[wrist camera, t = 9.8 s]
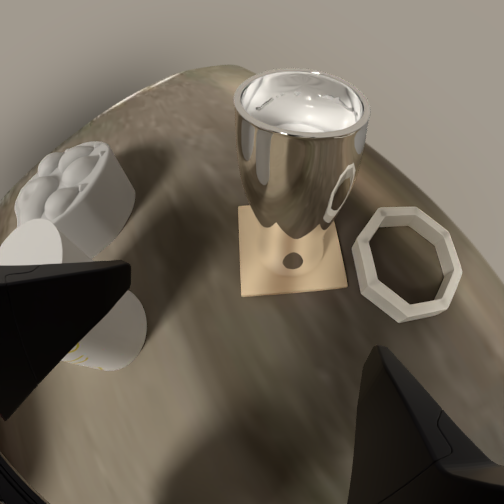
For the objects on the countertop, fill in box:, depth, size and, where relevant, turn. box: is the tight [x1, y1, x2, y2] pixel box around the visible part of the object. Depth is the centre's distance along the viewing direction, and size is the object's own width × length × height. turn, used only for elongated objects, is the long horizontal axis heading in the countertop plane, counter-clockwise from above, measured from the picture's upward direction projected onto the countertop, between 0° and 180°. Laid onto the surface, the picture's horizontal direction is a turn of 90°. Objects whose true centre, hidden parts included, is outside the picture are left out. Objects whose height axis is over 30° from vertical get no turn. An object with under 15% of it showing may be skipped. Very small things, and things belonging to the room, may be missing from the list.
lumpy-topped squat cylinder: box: [15, 141, 135, 259], centre depth 25 cm, size 10×13×9 cm
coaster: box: [238, 205, 348, 297], centre depth 25 cm, size 9×9×1 cm
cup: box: [0, 219, 147, 371], centre depth 17 cm, size 8×8×12 cm
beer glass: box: [233, 68, 371, 277], centre depth 18 cm, size 7×7×15 cm
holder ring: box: [351, 206, 462, 323], centre depth 23 cm, size 11×11×2 cm
